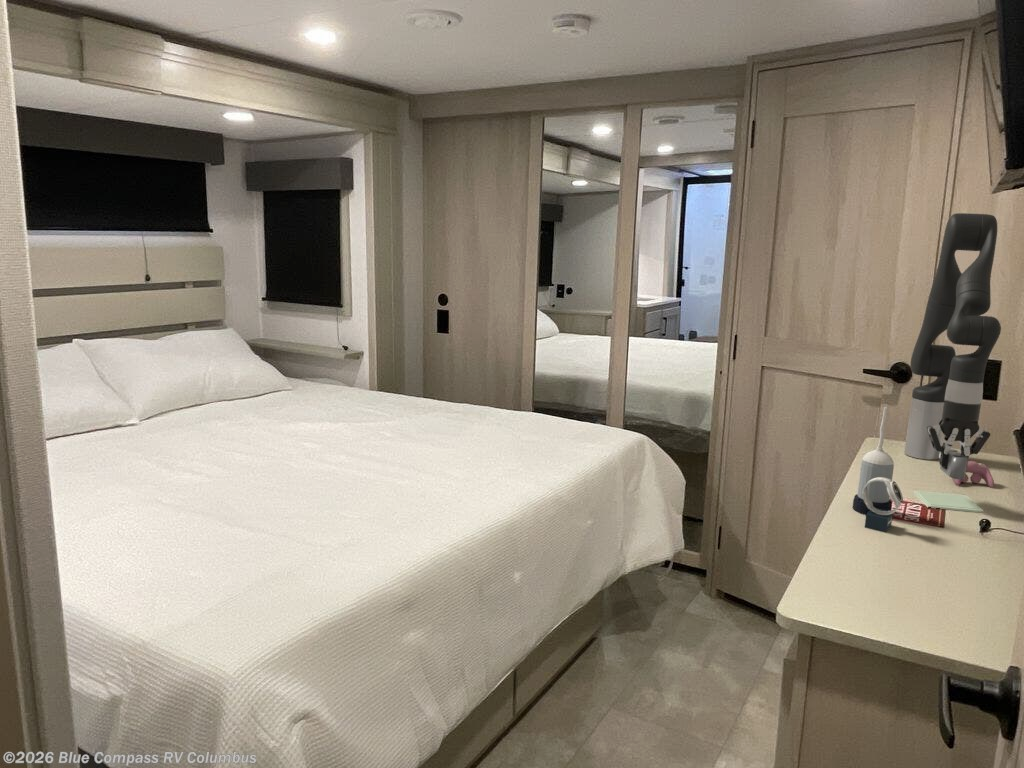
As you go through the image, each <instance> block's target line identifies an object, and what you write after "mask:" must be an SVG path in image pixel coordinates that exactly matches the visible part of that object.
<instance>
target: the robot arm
mask: <svg viewBox="0 0 1024 768" xmlns="http://www.w3.org/2000/svg"><path fill="white" fill-rule="evenodd" d="M947 220H948V221H947V223H946V225H945V229H944V235H943V239H942V243H941V249H940V255H939V259H938V265H937V269H936V273H935V275H934V278H933V282H932V284H931V285H932V286H931V288H930V292H929V296H928V300H927V303H926V307H925V313H924V318H923V321H922V324H921V328H920V330H919V331H920V332H919V333H918V337H917V339H916V342H915V346H914V348H913V351H912V353H911V357H910V358H911V359H910V370H911V372H912V373H913V375H915V376H916V375H917V376H923V377H924V376H925V377H933V378H936V379H935V380H934V381H932V382H930V383H927V384H924V385H919V386H918V385H917V386H916V387H914V388H913V390H912V392H911V393H912V395H911V400H910V401H911V402H910V409H909V418H908V423H907V424H908V425H907V432H906V437H905V444H904V445H905V446H904V451H903V453H904V455H906V456H909V457H911V458H914V459H915V458H916V459H920V460H929V461H930V460H931V461H933V460H938V459H939V462H938V463H939V465H940V466H942V468H943V469H947V466H948V459H949V455H948V454H949V452H950V449H952V446H953V445H954V443H955V442H958V441H959V445H960V453H961V454H963V455H964V456H966V457H967V458H968V460H967V464H968V461H969V458H970V455H977V454H979V453H980V451H981V449H982V448H983V447H984V446H985V444H986V442H987V441H988V440H989V438H990V437H991V433H990V432H989V431H987V430H986V429H983V428H981V427H980V425H979V419H980V413H981V409H982V408H981V407H982V401H983V398H984V397H983V395H984V394H983V393H984V379H985V373H986V368H987V363H988V361H989V359H990V355H991V353H992V351H993V349H994V347H995V345H996V343H997V342H998V341H999V340H998V339H999V337H1000V335H1001V331H1002V327H1001V323H1000V321H999V319H998V318H996V317H994V316H989V315H985V314H986V313H988V312H989V310H990V308H991V302H992V301H991V300H992V299H991V277H992V269H993V265H994V258H995V253H996V245H997V239H998V238H997V237H998V221H997V218H996V216H994V215H992V214H987V213H965V212H963V213H962V212H960V213H959V212H958V213H953V214H952V215H950V217H949V218H948V219H947ZM957 251H965V252H967V251H968V252H979V253H978V256H977V258H975V260H974V261H973V262H972V263H971V264H970V265H969V266H968V267H967V268H965V270H964V271H963V272H961V270H960V268H959V265H958V263H957V259H956V255H955V253H956V252H957ZM945 331H946V337H947V338H948V341H949V342H950V343H952V344H954V345H961V346H972V347H973V346H975V347H978V348H977V349H976V350H975V351H973V352H972V353H965V354H958V355H956V350H955V347H953V346H952V345H951V346H950V345H942V344H933V343H934V342H935V340H937V338H939V336H940V335H941V334H943V333H944V332H945ZM974 436H976V438H975V439H974V441H973V442H972V444H971V438H972V437H974ZM940 453H941V455H940V458H939V454H940ZM966 468H967V466H966Z"/></svg>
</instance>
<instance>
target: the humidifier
mask: <svg viewBox="0 0 1024 768" xmlns="http://www.w3.org/2000/svg"><path fill="white" fill-rule="evenodd" d="M879 411H880V407H879V406H878V409H877V412H879ZM887 416H888V407H886V406H883V412H882V418H881V419H882V420H881V423H880V427H879V441H878V444H877V447H876V449H875V448H873V450H871V451H869V452H866V453H865V454H864V455H863V457H862V460H861V462H860V463H861V464H860V471H859V478H858V479H859V480H858V487H857V494H854V497H853V499H852V510H853V511H855V512H856V513H859V514H860V515H864V516H866V514H867V513H868V511H869V510H870V509H868V508H867V506H866V504H865V502H864V499H863V495H862V492H863V488H864V486H865V485H866V484H867V483H868V482H869V481H870V480H871V479H873V478H877V477H884V478H888V479H890V480H891V481H893V477H894V476H893V474H894V466H895V465H894V464H895V463H894V460H893V457H892V456H891V455H890V454H888V452H886V451H884V450H883V445H884V442H885V441H884V440H885V427H886V423H887ZM878 418H879V415H877V417H876V420H878ZM878 423H879V422H878V421H876V426H875V427H874V429H876V428H877V426H878ZM873 439H874V440H873V442H875V440H876V436H874V438H873ZM867 488H868V489H867V490H868V494H869V497H870V500H871V502H872V503H873V506H874V508H878V509H882V510H887V511H891V510H893V509H892V507H893V504H892V503H893V501H892V500H891V498H890V497H889V494H888V491H887V486H886V485H885V482H883V481H874V482H871V483H869V484H868V485H867Z"/></svg>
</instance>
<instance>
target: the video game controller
mask: <svg viewBox="0 0 1024 768" xmlns="http://www.w3.org/2000/svg"><path fill="white" fill-rule="evenodd" d="M967 473H968V474H969V473H970V474H971V475H970V478H969V476H968V474H967ZM969 479H970V482H971V483H972V484H979V483H980V482H981V480H984V483H986V485H987V486H988V487H989V488H993V487H994V485H995V479H994V477H993V475H992V474H991V471H990V469H989V467H988V466H986V464H985V463H979V462H976V461H973V460H970V461H969V460H968V464H967V468H966V473H965V479H954V478H951V480H952V482H953V483H954V484H955V485H956V486H957V487H958V486H960V485H961V483H963V484H964V483H967V482H968V481H969Z"/></svg>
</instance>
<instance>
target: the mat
mask: <svg viewBox="0 0 1024 768" xmlns="http://www.w3.org/2000/svg"><path fill="white" fill-rule="evenodd" d="M913 494H914V495H915V496H916V497H917V498H918V499H919V500H920V501H921V502H922V504H923V505H925V506H926V507H927V508H928V507H931V508H930V509H936V508H940V509H939V510H948V511H962V512H969V513H970V512H972V513H982V514H984V513H985V511H984V510H983V509H982V508H981V507H980V506H979V505H978V504H977V503H975V502H974V501H973V500H972V499H971V498H970V497H968V496H967V495H965V494H957V493H956V494H955V493H944V492H935V491H932V492H931V491H923V490H913Z"/></svg>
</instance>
